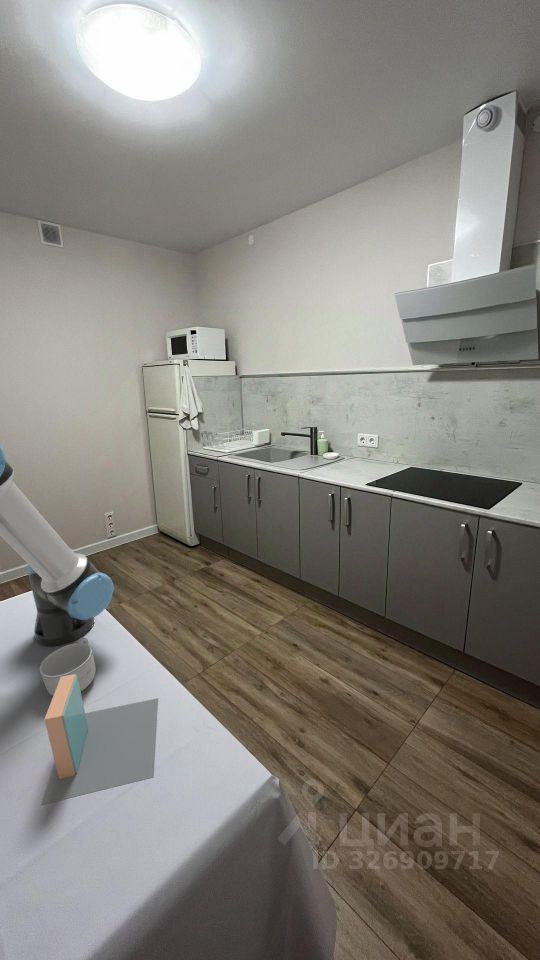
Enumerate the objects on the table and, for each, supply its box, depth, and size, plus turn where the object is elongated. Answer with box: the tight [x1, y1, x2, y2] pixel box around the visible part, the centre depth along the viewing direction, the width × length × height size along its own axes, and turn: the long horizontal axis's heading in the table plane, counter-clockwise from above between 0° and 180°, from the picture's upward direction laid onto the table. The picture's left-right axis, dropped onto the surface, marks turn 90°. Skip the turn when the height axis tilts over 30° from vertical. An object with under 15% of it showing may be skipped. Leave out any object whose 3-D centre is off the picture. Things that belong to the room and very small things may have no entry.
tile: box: [44, 674, 88, 779], centre depth 73 cm, size 10×3×13 cm, turn 13°
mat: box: [41, 697, 159, 806], centre depth 76 cm, size 18×18×1 cm
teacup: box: [39, 637, 96, 697], centre depth 92 cm, size 14×11×8 cm
